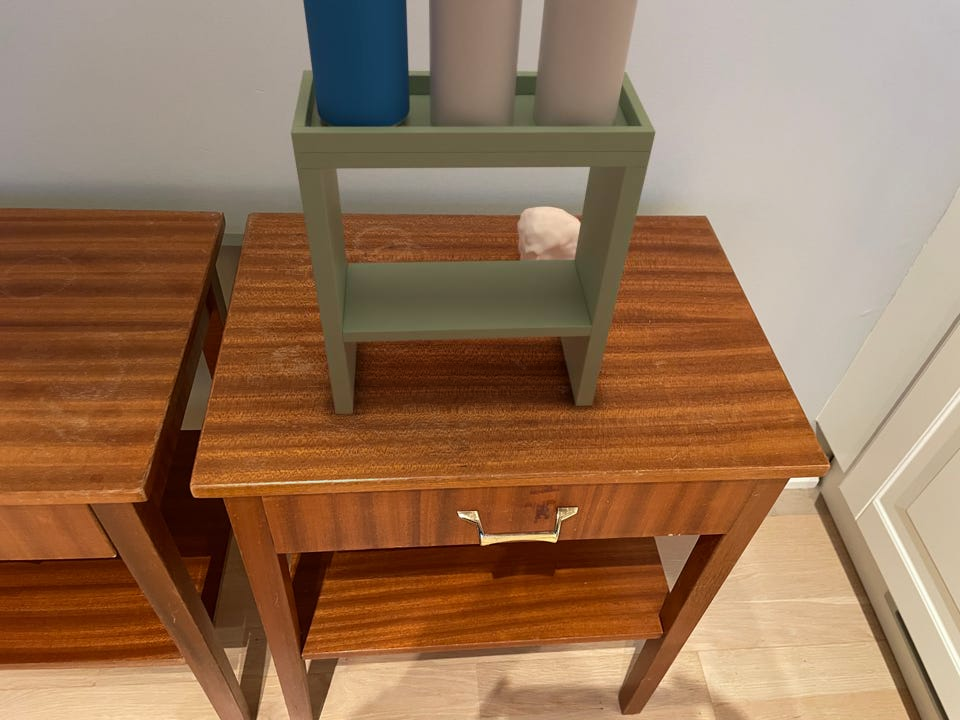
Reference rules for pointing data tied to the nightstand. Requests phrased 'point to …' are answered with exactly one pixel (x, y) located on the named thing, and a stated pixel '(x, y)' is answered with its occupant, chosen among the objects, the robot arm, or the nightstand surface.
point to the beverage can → (359, 61)
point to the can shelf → (471, 139)
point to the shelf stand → (473, 286)
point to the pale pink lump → (547, 234)
